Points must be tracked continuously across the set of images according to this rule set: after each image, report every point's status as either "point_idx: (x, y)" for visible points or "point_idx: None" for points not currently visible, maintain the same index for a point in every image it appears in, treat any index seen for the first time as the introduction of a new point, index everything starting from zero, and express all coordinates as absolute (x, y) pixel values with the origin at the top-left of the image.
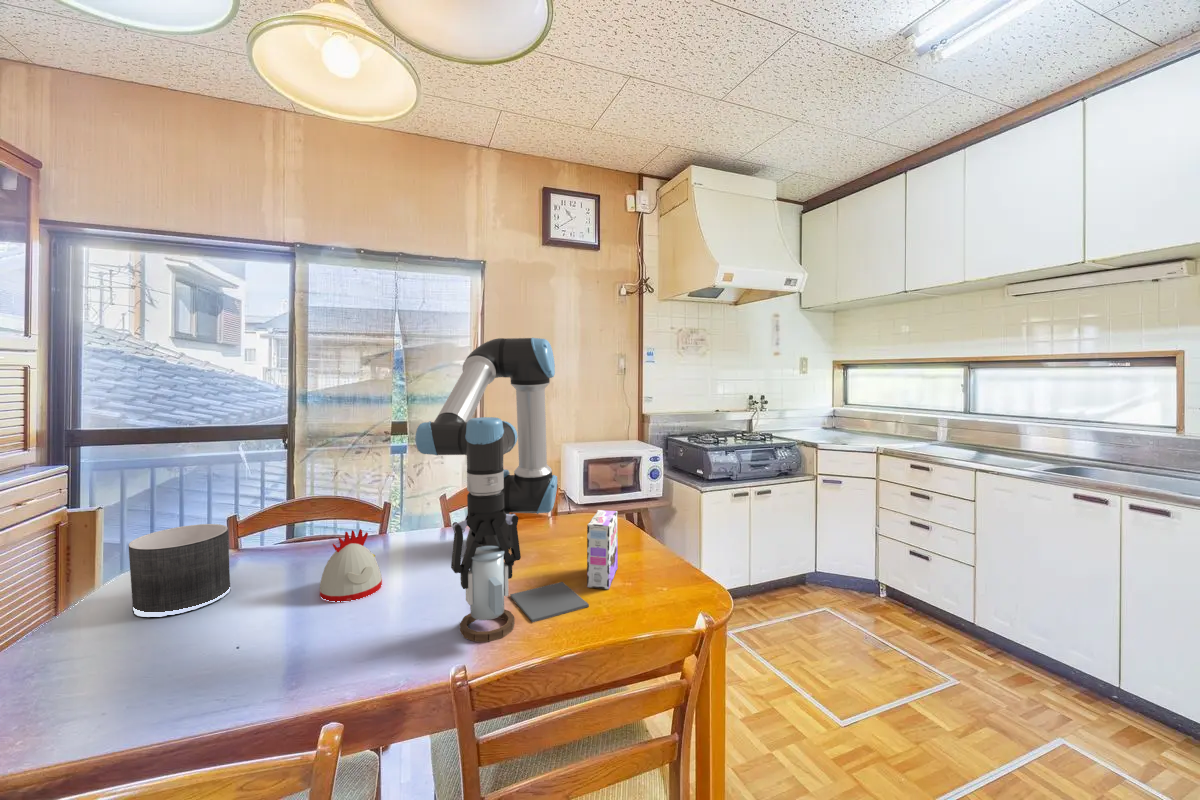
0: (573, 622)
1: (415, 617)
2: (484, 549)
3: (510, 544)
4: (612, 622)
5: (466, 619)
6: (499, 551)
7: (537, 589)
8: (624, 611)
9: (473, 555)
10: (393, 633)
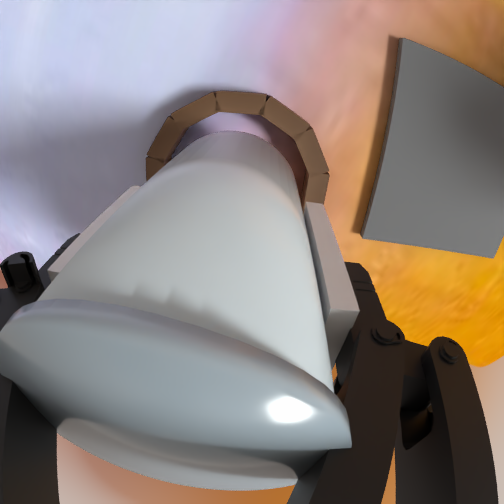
0: (423, 289)
1: (72, 13)
2: (140, 420)
3: (445, 444)
4: (458, 324)
5: (172, 136)
6: (270, 478)
7: (482, 86)
8: (497, 305)
9: (52, 437)
10: (22, 83)
